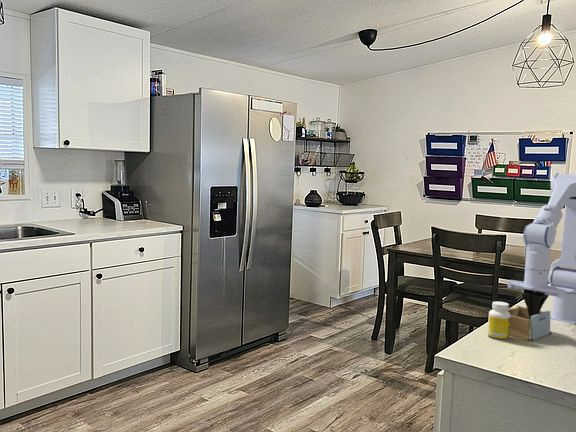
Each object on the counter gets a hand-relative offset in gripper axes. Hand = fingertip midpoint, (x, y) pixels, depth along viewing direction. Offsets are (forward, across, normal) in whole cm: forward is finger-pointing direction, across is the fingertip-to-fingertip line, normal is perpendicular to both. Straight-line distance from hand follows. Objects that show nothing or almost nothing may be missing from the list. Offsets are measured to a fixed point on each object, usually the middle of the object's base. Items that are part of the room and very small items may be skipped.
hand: (533, 318), depth 141 cm
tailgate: (+4, +2, 0) cm, 5 cm away
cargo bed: (+5, -3, 0) cm, 6 cm away
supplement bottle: (+5, -4, -10) cm, 12 cm away
